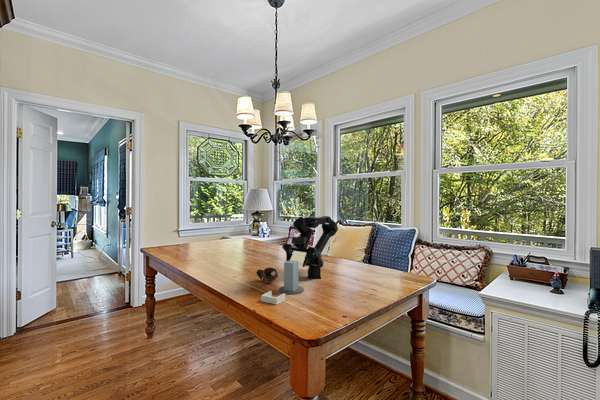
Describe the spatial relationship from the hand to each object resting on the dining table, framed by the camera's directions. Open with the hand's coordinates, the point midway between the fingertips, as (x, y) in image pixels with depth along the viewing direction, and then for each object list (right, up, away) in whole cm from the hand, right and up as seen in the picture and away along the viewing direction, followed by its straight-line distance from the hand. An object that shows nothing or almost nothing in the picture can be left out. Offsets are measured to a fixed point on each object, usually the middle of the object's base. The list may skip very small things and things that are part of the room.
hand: (294, 265), depth 142 cm
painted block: (-2, -10, -5) cm, 12 cm away
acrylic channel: (-9, -11, -19) cm, 23 cm away
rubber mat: (-2, -11, -5) cm, 12 cm away
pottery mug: (-15, -11, +9) cm, 21 cm away
